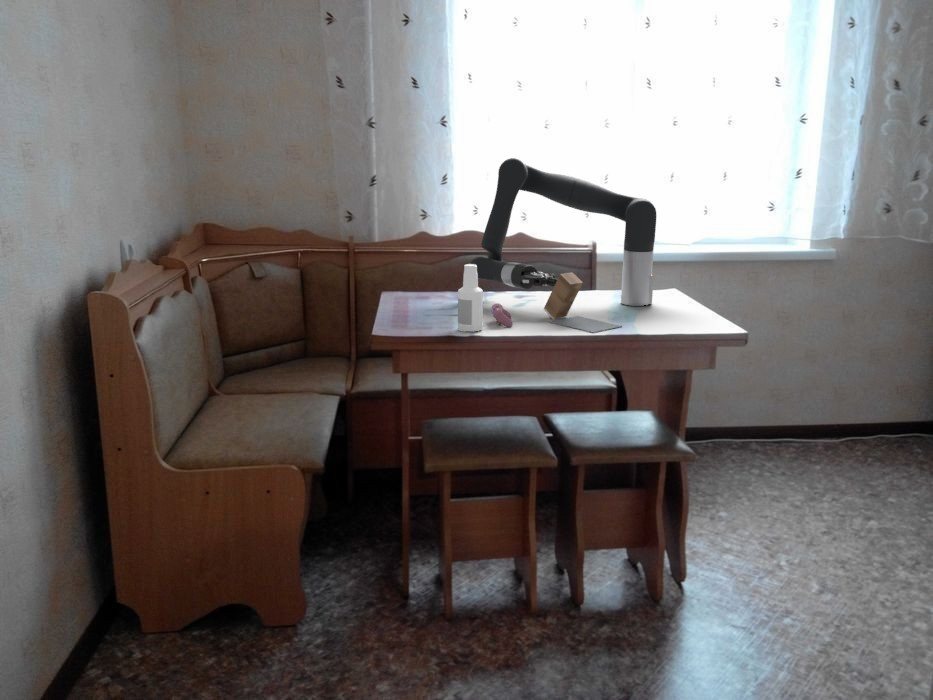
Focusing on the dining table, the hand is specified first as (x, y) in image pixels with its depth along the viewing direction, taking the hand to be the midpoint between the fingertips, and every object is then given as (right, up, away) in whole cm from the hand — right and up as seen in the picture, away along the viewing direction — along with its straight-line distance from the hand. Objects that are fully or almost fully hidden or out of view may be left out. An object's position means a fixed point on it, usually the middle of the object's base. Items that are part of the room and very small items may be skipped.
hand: (559, 283), depth 231 cm
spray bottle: (-26, -14, -12) cm, 32 cm away
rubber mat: (+7, -12, -5) cm, 15 cm away
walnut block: (-1, -9, +3) cm, 9 cm away
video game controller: (-17, -12, -5) cm, 22 cm away
